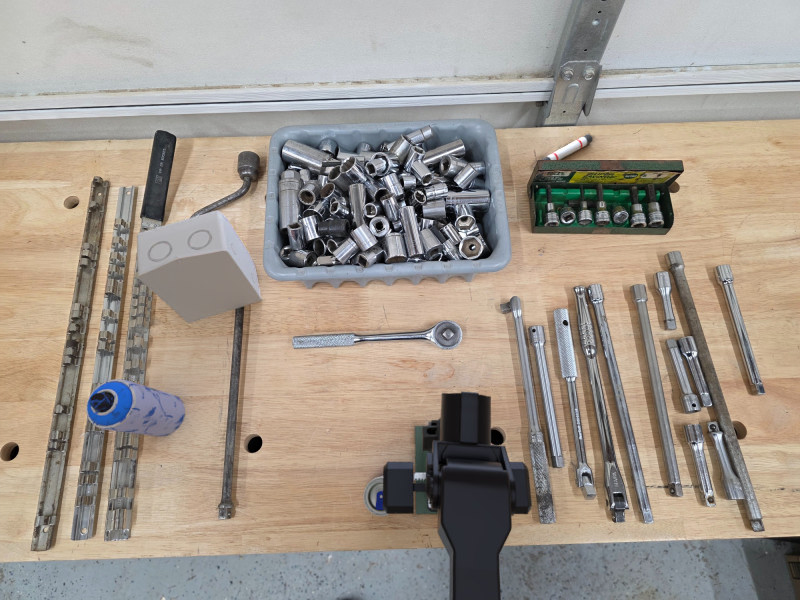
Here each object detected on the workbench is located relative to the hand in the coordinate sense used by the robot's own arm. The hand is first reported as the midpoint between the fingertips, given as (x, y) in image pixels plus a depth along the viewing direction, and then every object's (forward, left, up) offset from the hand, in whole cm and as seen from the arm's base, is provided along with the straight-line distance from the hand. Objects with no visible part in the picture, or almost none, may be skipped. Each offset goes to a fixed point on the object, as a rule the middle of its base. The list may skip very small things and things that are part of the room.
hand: (450, 485), depth 66 cm
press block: (+2, 0, -12) cm, 12 cm away
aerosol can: (+11, +50, -12) cm, 53 cm away
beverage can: (-1, +10, -12) cm, 16 cm away
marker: (+67, -28, -12) cm, 74 cm away
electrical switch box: (+38, +44, -12) cm, 60 cm away
